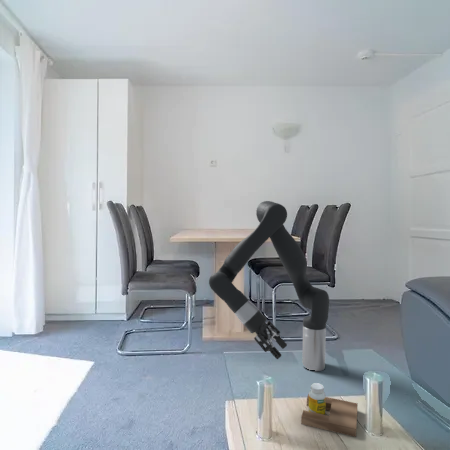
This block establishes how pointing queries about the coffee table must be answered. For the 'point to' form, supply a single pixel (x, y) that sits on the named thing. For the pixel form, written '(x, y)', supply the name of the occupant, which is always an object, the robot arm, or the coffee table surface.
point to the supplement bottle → (317, 399)
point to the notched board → (334, 417)
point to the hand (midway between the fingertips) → (282, 352)
